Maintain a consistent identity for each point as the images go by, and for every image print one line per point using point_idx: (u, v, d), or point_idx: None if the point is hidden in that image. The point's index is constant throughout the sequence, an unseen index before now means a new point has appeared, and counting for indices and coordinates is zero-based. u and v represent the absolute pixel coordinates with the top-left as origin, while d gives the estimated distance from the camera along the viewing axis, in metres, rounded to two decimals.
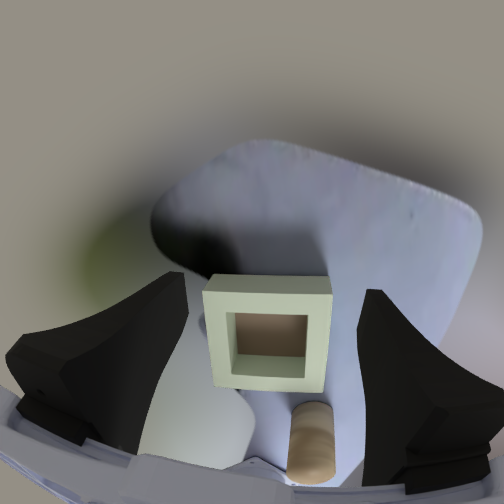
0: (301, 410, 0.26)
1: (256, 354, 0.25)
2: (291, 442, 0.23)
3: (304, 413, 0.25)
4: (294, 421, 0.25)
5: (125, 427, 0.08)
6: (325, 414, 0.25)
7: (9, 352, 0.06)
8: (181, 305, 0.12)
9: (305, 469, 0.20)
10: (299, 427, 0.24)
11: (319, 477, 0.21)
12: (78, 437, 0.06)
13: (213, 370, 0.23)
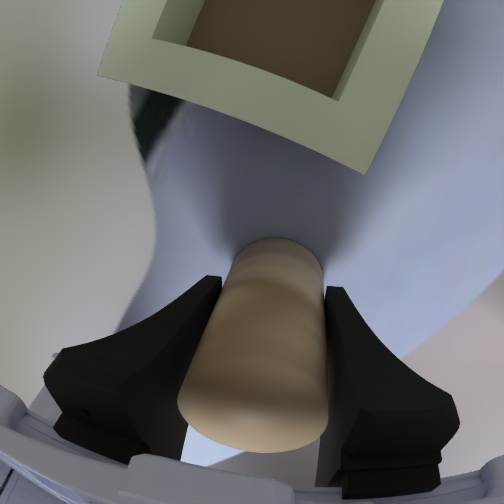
0: (263, 248, 0.12)
1: None
2: (220, 309, 0.09)
3: (270, 254, 0.12)
4: (240, 266, 0.12)
5: (171, 440, 0.08)
6: (316, 276, 0.12)
7: (50, 370, 0.05)
8: None
9: (242, 401, 0.07)
10: (252, 278, 0.10)
11: (268, 437, 0.08)
12: None
13: (117, 25, 0.07)
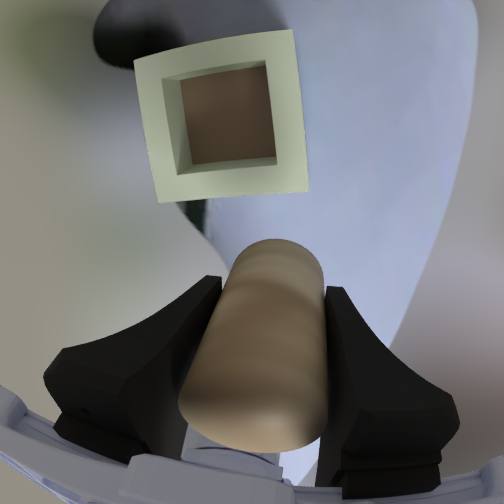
0: (263, 249, 0.12)
1: (215, 161, 0.19)
2: (220, 310, 0.10)
3: (270, 255, 0.12)
4: (239, 268, 0.12)
5: (171, 440, 0.08)
6: (316, 276, 0.12)
7: (50, 370, 0.05)
8: None
9: (242, 402, 0.07)
10: (252, 279, 0.10)
11: (268, 438, 0.08)
12: None
13: (154, 174, 0.17)
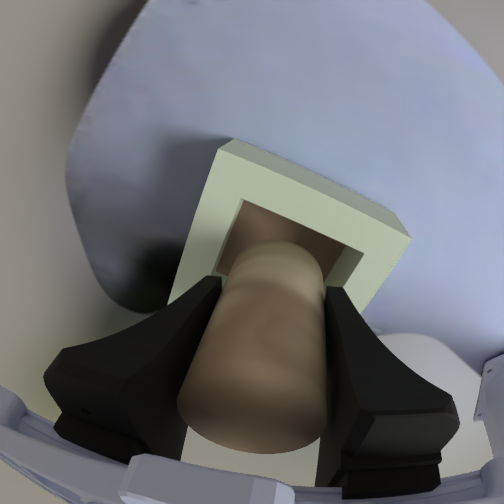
0: (261, 250, 0.12)
1: None
2: (218, 312, 0.10)
3: (268, 256, 0.12)
4: (237, 270, 0.12)
5: (171, 440, 0.08)
6: (314, 276, 0.12)
7: (50, 370, 0.05)
8: None
9: (240, 403, 0.07)
10: (249, 280, 0.10)
11: (268, 438, 0.08)
12: None
13: None
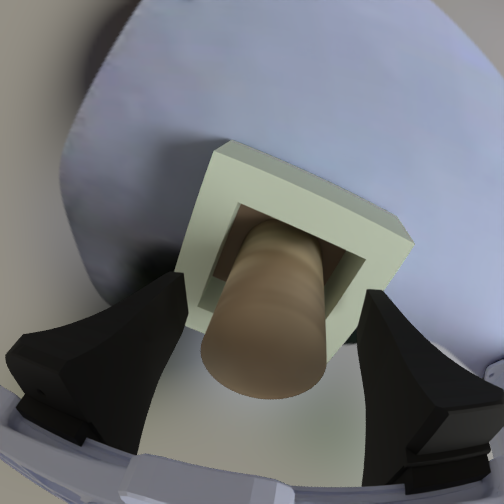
0: (268, 227, 0.14)
1: None
2: (234, 275, 0.12)
3: (274, 231, 0.14)
4: (248, 243, 0.14)
5: (125, 427, 0.08)
6: (314, 248, 0.14)
7: (9, 352, 0.06)
8: (181, 305, 0.12)
9: (255, 343, 0.09)
10: (259, 249, 0.12)
11: (277, 381, 0.10)
12: (78, 437, 0.06)
13: None
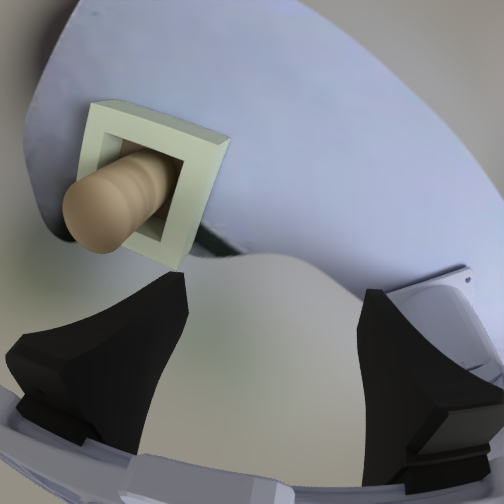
0: (134, 152, 0.19)
1: None
2: None
3: (134, 153, 0.18)
4: None
5: (125, 427, 0.08)
6: (160, 163, 0.18)
7: (9, 352, 0.06)
8: (181, 305, 0.12)
9: (85, 202, 0.14)
10: None
11: (103, 234, 0.14)
12: (78, 437, 0.06)
13: (153, 258, 0.20)
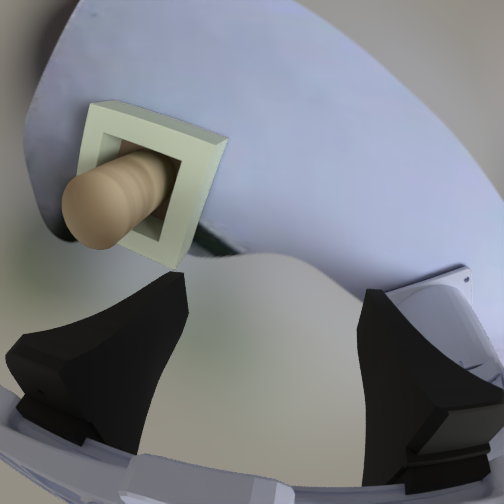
0: (134, 152, 0.19)
1: None
2: None
3: (134, 152, 0.18)
4: None
5: (125, 427, 0.08)
6: (160, 163, 0.18)
7: (9, 352, 0.06)
8: (181, 305, 0.12)
9: (85, 197, 0.14)
10: (116, 159, 0.17)
11: (102, 230, 0.14)
12: (78, 437, 0.06)
13: (151, 258, 0.20)
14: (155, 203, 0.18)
